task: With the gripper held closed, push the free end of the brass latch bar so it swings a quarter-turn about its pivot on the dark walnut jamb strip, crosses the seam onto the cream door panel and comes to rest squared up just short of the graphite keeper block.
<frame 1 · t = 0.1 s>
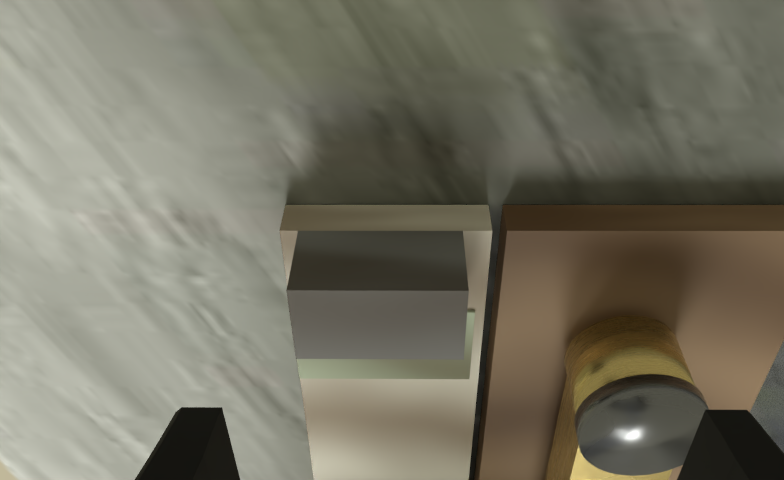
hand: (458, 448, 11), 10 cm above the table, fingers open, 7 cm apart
strike board: (517, 406, 26), on the table
latch bar: (607, 475, 23), point 3 cm above the table, hinge at 90.0°
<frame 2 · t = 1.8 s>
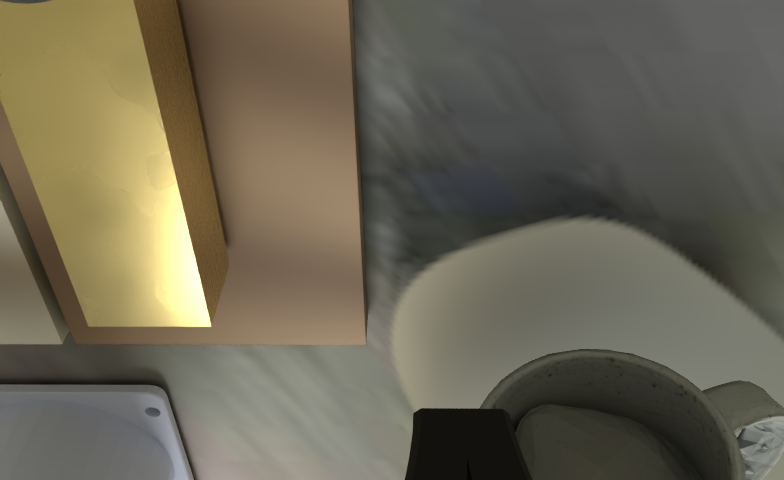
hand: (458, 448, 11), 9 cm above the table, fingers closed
strike board: (39, 45, 17), on the table
latch bar: (95, 89, 14), point 3 cm above the table, hinge at 90.0°
ceramic mug: (611, 409, 26), on the table
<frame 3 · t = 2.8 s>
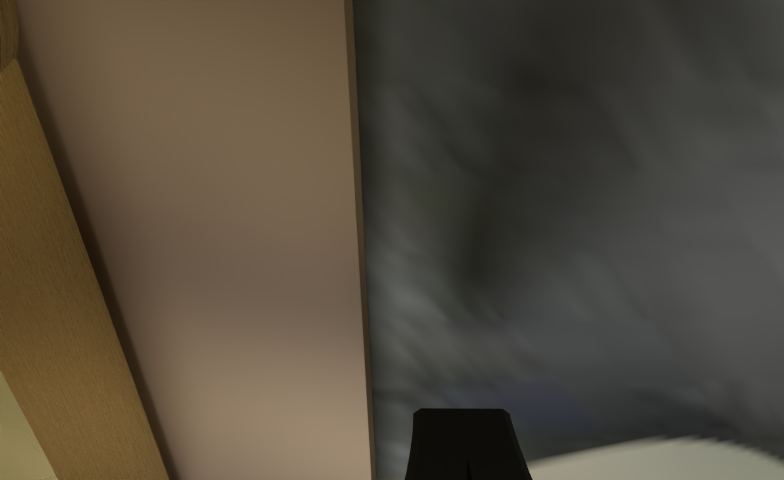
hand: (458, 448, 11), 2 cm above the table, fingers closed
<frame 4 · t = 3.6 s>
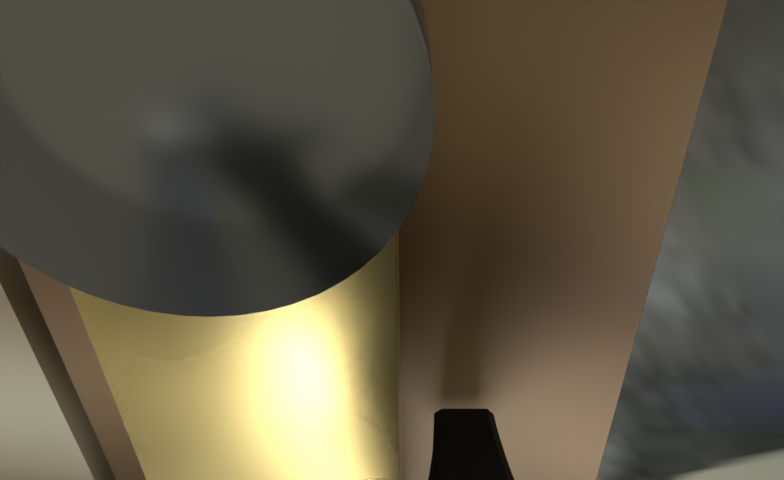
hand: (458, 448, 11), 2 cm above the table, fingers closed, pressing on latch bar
strike board: (142, 231, 11), on the table
latch bar: (270, 366, 9), point 3 cm above the table, hinge at 90.0°, touching gripper
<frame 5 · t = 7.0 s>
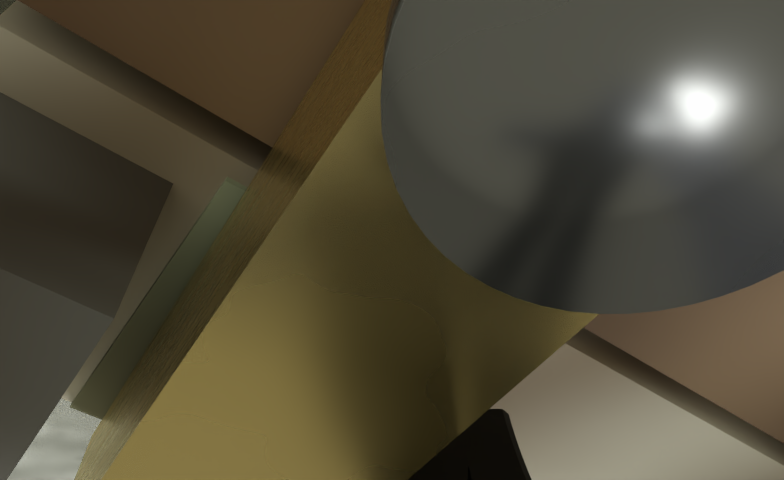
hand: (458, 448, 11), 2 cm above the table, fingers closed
strike board: (652, 236, 11), on the table
latch bar: (349, 323, 8), point 3 cm above the table, hinge at 2.9°
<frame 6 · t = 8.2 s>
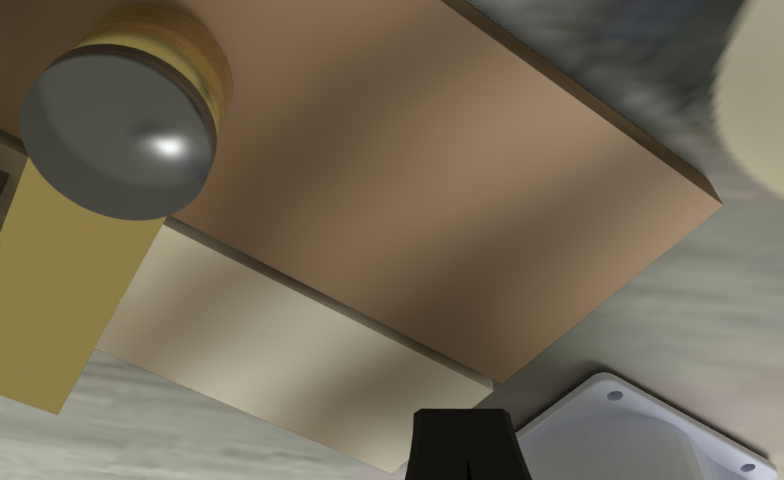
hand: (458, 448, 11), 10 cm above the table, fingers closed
strike board: (284, 203, 20), on the table
latch bar: (79, 237, 17), point 3 cm above the table, hinge at 2.8°
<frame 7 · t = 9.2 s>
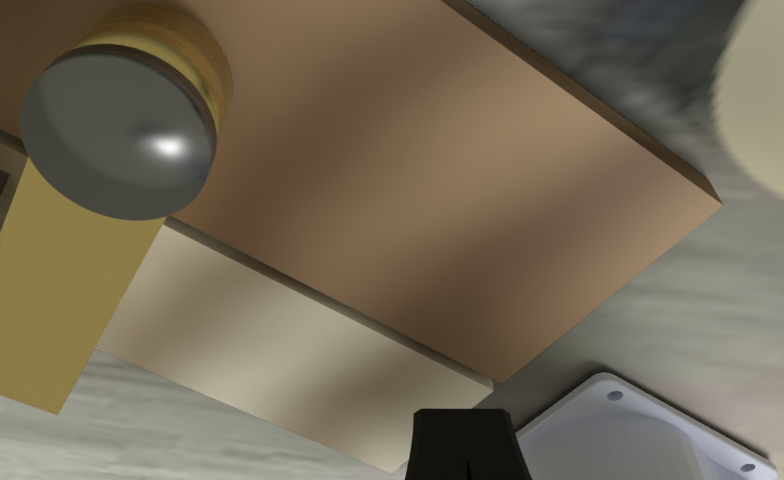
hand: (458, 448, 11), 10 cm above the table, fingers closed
strike board: (284, 203, 20), on the table
latch bar: (79, 237, 17), point 3 cm above the table, hinge at 2.8°
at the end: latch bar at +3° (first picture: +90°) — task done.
